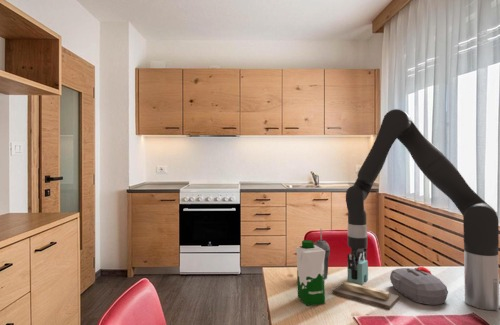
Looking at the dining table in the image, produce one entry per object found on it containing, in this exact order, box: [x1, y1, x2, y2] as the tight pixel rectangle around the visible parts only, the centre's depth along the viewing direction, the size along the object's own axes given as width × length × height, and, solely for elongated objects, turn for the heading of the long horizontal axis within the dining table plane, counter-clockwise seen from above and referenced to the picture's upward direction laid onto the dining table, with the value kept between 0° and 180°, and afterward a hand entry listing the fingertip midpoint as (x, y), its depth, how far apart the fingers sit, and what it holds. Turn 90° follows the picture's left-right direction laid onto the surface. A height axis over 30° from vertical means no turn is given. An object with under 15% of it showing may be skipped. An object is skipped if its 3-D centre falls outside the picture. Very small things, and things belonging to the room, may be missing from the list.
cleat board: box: [332, 281, 400, 310], centre depth 114 cm, size 20×10×3 cm, turn 49°
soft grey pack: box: [389, 267, 449, 306], centre depth 115 cm, size 15×8×20 cm
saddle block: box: [347, 260, 369, 286], centre depth 129 cm, size 6×6×8 cm
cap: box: [416, 266, 432, 274], centre depth 128 cm, size 8×6×6 cm
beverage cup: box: [314, 228, 331, 281], centre depth 133 cm, size 7×7×20 cm
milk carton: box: [295, 239, 326, 307], centre depth 112 cm, size 9×9×20 cm
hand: (357, 276), depth 129 cm, fingers open, 6 cm apart
